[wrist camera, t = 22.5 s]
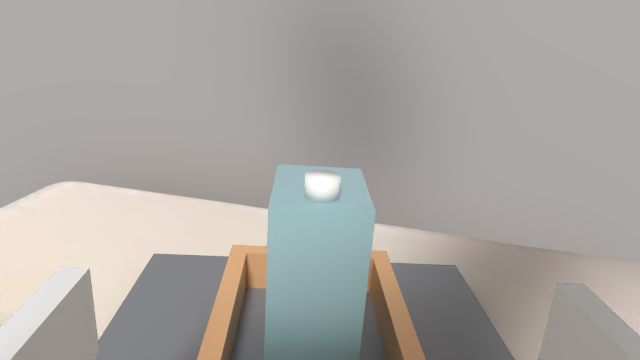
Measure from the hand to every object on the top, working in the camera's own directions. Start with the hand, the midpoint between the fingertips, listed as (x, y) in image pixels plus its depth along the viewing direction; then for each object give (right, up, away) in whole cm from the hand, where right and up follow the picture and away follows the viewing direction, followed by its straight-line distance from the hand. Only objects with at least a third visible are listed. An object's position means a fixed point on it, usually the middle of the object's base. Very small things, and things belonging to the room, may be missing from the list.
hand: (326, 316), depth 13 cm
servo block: (-1, -5, +12) cm, 13 cm away
